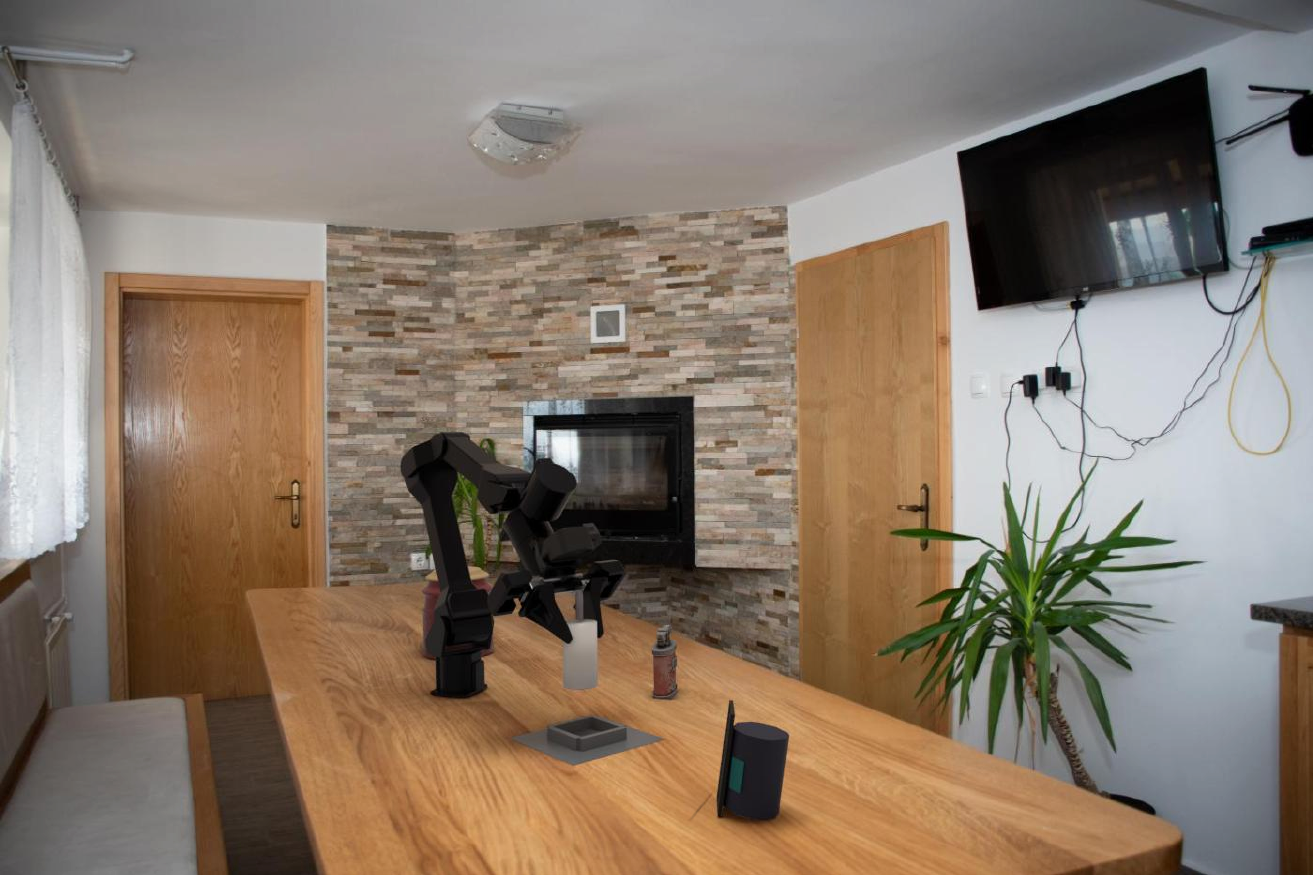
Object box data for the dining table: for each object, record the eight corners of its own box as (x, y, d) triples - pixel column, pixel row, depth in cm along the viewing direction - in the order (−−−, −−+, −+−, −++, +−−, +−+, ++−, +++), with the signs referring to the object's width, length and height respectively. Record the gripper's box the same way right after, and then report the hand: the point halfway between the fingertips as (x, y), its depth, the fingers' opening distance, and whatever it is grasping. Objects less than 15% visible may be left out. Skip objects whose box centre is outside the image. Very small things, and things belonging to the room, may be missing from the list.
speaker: (697, 814, 93) (707, 710, 93) (716, 797, 98) (726, 698, 99) (771, 833, 90) (781, 725, 90) (787, 814, 95) (796, 712, 96)
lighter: (671, 702, 135) (670, 633, 135) (648, 701, 136) (647, 632, 136) (681, 688, 143) (679, 622, 143) (659, 687, 144) (658, 622, 144)
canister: (509, 649, 173) (507, 554, 173) (459, 664, 162) (457, 562, 162) (458, 643, 180) (456, 551, 180) (406, 656, 169) (405, 558, 169)
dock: (509, 741, 118) (509, 726, 118) (598, 719, 127) (598, 704, 127) (573, 769, 108) (572, 752, 108) (665, 743, 117) (665, 727, 117)
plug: (557, 688, 117) (555, 592, 117) (572, 680, 121) (570, 587, 121) (589, 691, 116) (587, 593, 116) (603, 682, 120) (601, 588, 120)
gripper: (497, 508, 116) (548, 608, 107) (616, 500, 128) (671, 590, 119) (466, 566, 122) (513, 665, 113) (583, 553, 134) (633, 642, 125)
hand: (586, 638), depth 117 cm, fingers closed on plug, 4 cm apart
